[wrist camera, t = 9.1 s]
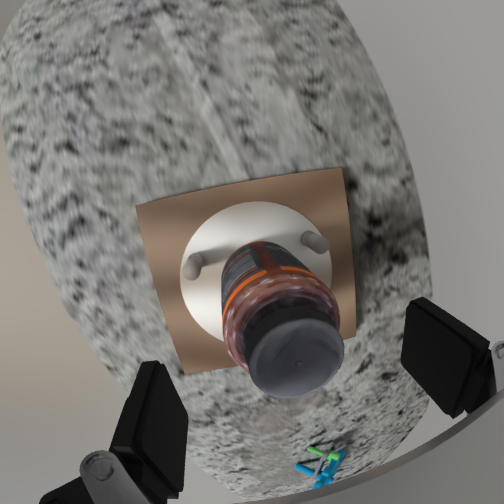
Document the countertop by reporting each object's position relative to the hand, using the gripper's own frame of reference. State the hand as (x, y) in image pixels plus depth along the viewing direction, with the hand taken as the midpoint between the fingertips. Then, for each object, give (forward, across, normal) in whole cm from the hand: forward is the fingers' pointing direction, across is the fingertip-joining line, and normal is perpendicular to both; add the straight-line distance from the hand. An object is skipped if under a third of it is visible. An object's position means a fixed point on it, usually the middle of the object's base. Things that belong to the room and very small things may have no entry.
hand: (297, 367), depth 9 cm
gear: (+13, -4, +31) cm, 34 cm away
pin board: (+14, 0, +1) cm, 14 cm away
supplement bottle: (+12, 0, +1) cm, 12 cm away
